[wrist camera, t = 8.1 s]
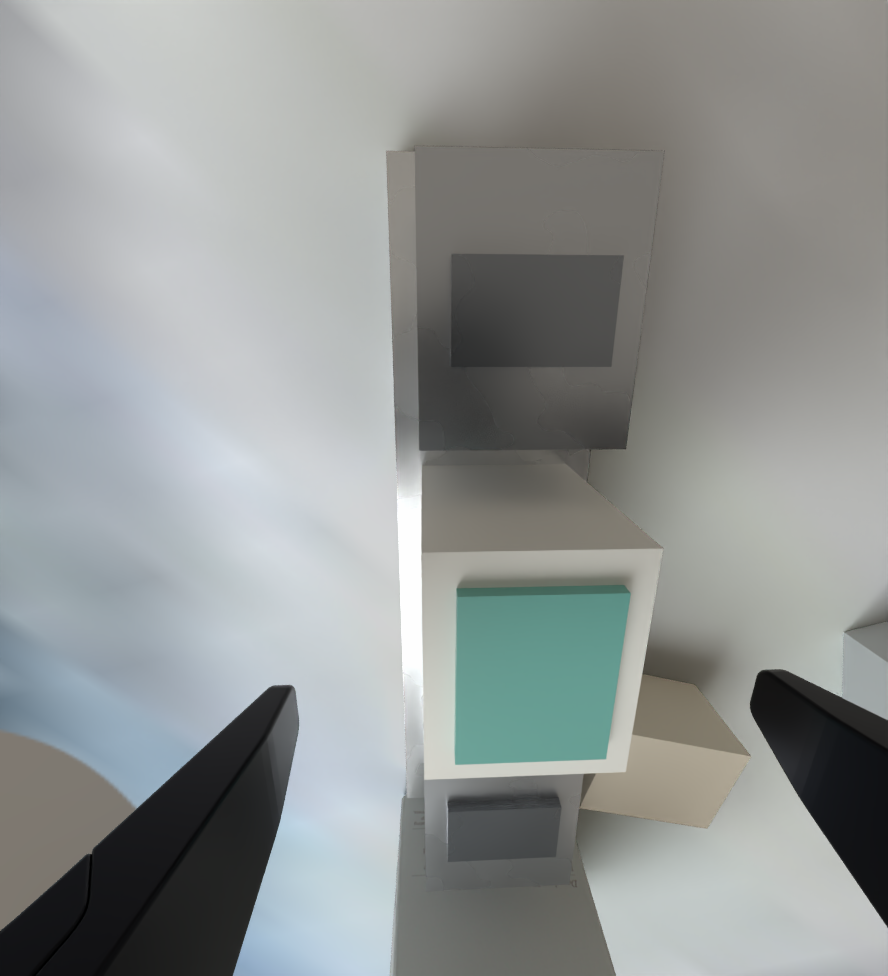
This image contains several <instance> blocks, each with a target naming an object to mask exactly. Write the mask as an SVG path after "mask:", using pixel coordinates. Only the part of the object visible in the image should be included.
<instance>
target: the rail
mask: <svg viewBox="0 0 888 976" xmlns="http://www.w3.org/2000/svg"><path fill="white" fill-rule="evenodd" d="M414 147H415V151H386V156H387V187H388V218H389V250H390V281H391V313H392V344H393V376H394V407H395V438H396V470H397V501H398V533H399V564H400V595H401V627H402V658H403V690H404V721H405V753H406V784H407V798H425V860H426V892H429V891H449V890H469V889H489V888H509V887H529V886H549V885H569V883H570V875H571V868H572V860H573V852H574V845H575V837H576V829H577V822H578V814H579V806H580V798H581V791H582V783H583V775H584V774H562V775H536V776H510V777H485V778H459V779H433V780H424V727H423V656H422V585H421V497H422V466H425V465H538V464H567V465H568V466H569V467H570V468H571V469H572V470H573V471H575V472H576V473H577V474H578V475H579V476H580V477H582V478H583V479H584V480H585V481H586V482H587V480H588V470H589V461H590V451H591V449H626V444H627V437H628V429H629V421H630V414H631V406H632V398H633V391H634V383H635V375H636V368H637V360H638V352H639V344H640V337H641V329H642V321H643V314H644V306H645V298H646V291H647V283H648V275H649V267H650V260H651V252H652V244H653V237H654V229H655V221H656V214H657V206H658V198H659V190H660V183H661V175H662V167H663V160H664V152H665V151H649V150H600V149H551V148H502V147H453V146H414Z"/></svg>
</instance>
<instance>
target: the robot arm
mask: <svg viewBox="0 0 888 976" xmlns="http://www.w3.org/2000/svg"><path fill="white" fill-rule="evenodd" d="M750 709H751V713H752V716H753V718H754V720H755V721H756V723H757V725H758V727H759V728H760V730H761V732H762V734H763V735H764V737H765V739H766V741H767V742H768V744H769V746H770V748H771V749H772V751H773V753H774V755H775V756H776V758H777V760H778V762H779V763H780V765H781V767H782V769H783V770H784V772H785V774H786V776H787V777H788V779H789V781H790V783H791V784H792V786H793V788H794V789H795V791H796V793H797V794H798V796H799V798H800V799H801V801H802V802H803V804H804V805H805V807H806V808H807V810H808V811H809V813H810V814H811V816H812V817H813V819H814V820H815V822H816V823H817V825H818V826H819V828H820V829H821V831H822V832H823V833H824V835H825V836H826V838H827V839H828V841H829V842H830V844H831V845H832V847H833V848H834V850H835V851H836V853H837V854H838V855H839V857H840V858H841V860H842V861H843V863H844V864H845V866H846V867H847V869H848V870H849V872H850V873H851V875H852V876H853V877H854V879H855V880H856V882H857V883H858V885H859V886H860V888H861V889H862V891H863V892H864V894H865V895H866V896H867V898H868V899H869V901H870V902H871V904H872V905H873V907H874V908H875V910H876V911H877V913H878V914H879V916H880V917H881V918H882V920H883V921H884V923H885V924H886V926H887V927H888V720H887V719H884V718H882V717H880V716H878V715H876V714H874V713H872V712H870V711H868V710H866V709H864V708H862V707H860V706H858V705H856V704H854V703H852V702H850V701H847V700H845V699H843V698H841V697H839V696H837V695H835V694H833V693H831V692H829V691H827V690H825V689H823V688H821V687H819V686H817V685H815V684H813V683H810V682H808V681H806V680H804V679H802V678H800V677H798V676H796V675H794V674H792V673H790V672H788V671H786V670H781V669H771V670H762V671H760V672H759V673H758V675H757V678H756V682H755V686H754V689H753V693H752V697H751V701H750ZM298 730H299V716H298V708H297V700H296V692H295V689H294V687H293V686H292V685H275V686H271V687H269V688H268V689H267V690H266V691H265V692H264V693H263V694H262V695H260V696H259V697H258V698H257V699H256V700H255V701H254V702H253V703H252V704H251V705H250V706H248V707H247V708H246V709H245V710H244V711H243V712H242V713H241V714H240V715H239V716H237V717H236V718H235V719H234V720H233V721H232V722H231V723H230V724H229V725H228V726H227V727H225V728H224V729H223V730H222V731H221V732H220V733H219V734H218V735H217V736H216V737H215V738H213V739H212V740H211V741H210V742H209V743H208V744H207V745H206V746H205V747H204V748H203V749H201V750H200V751H199V752H198V753H197V754H196V755H195V756H194V757H193V758H192V759H191V760H189V761H188V762H187V763H186V764H185V765H184V766H183V767H182V768H181V769H180V770H178V771H177V772H176V773H175V774H174V775H173V776H172V777H171V778H170V779H169V780H168V781H166V782H165V783H164V784H163V785H162V786H161V787H160V788H159V789H158V790H157V791H156V792H154V793H153V794H152V795H151V796H150V797H149V798H148V799H147V800H146V801H145V802H144V803H142V804H141V805H140V806H139V807H138V808H137V809H136V810H135V811H134V812H133V813H132V814H131V815H129V816H128V817H127V818H126V819H125V820H124V821H123V822H122V823H121V824H120V825H118V826H117V827H116V828H115V829H114V830H113V831H112V832H111V833H110V834H109V835H107V836H106V837H105V838H104V839H103V840H102V841H101V842H100V843H99V844H98V845H97V846H95V847H94V848H93V851H92V854H87V855H85V856H84V857H83V858H82V859H81V860H80V861H79V862H78V863H77V864H76V865H74V866H73V867H72V868H71V869H70V870H69V871H68V872H67V873H66V874H65V875H64V876H62V878H60V879H59V880H58V881H57V882H56V883H55V884H54V885H52V886H51V887H50V888H49V889H48V890H47V891H46V892H44V893H43V895H41V896H40V897H39V898H38V899H37V900H36V901H34V902H33V903H32V904H31V905H30V906H29V907H28V908H26V909H25V910H24V911H23V912H22V913H21V914H20V915H19V916H17V917H16V918H15V919H14V920H13V921H12V922H10V923H9V924H8V925H7V926H6V927H5V928H3V929H2V930H1V931H0V976H233V973H234V970H235V967H236V963H237V960H238V957H239V954H240V950H241V947H242V944H243V941H244V937H245V934H246V931H247V928H248V924H249V921H250V918H251V915H252V912H253V908H254V905H255V902H256V899H257V895H258V892H259V889H260V886H261V882H262V879H263V876H264V873H265V870H266V866H267V863H268V860H269V857H270V853H271V850H272V847H273V844H274V840H275V837H276V834H277V830H278V827H279V823H280V819H281V814H282V810H283V805H284V800H285V795H286V790H287V785H288V780H289V776H290V771H291V766H292V761H293V756H294V751H295V746H296V741H297V736H298Z"/></svg>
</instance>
